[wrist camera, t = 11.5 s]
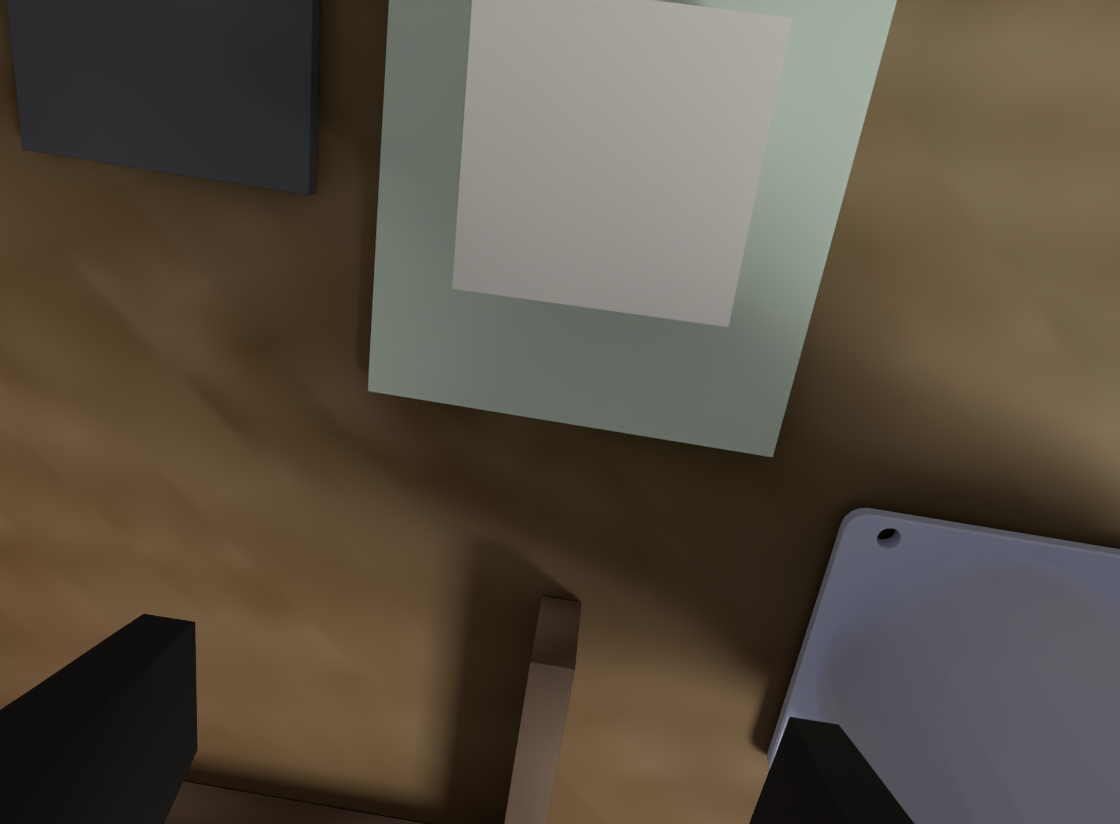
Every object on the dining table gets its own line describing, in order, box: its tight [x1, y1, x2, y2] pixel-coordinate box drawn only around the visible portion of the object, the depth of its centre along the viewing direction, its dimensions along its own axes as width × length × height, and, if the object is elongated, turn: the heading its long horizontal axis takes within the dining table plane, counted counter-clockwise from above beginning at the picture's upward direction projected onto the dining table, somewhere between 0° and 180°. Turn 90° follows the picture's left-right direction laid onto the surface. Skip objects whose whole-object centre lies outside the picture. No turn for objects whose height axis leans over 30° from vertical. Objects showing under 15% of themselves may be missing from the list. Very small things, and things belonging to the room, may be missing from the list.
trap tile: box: [6, 0, 320, 195], centre depth 16 cm, size 6×6×1 cm
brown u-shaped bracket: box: [164, 596, 581, 824], centre depth 21 cm, size 17×10×2 cm, turn 82°
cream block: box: [452, 0, 793, 327], centre depth 13 cm, size 4×4×5 cm
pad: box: [368, 0, 897, 457], centre depth 16 cm, size 9×12×1 cm
